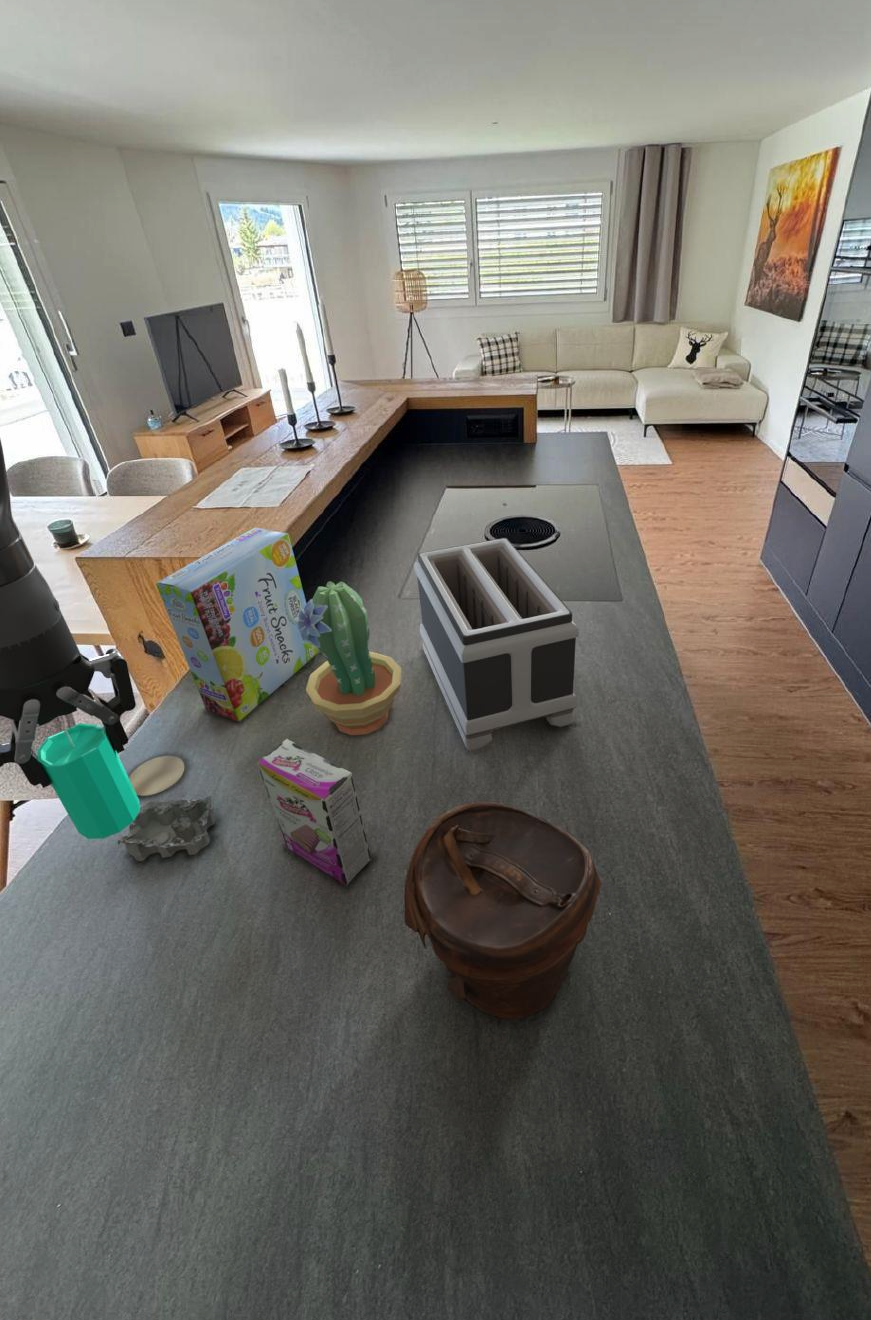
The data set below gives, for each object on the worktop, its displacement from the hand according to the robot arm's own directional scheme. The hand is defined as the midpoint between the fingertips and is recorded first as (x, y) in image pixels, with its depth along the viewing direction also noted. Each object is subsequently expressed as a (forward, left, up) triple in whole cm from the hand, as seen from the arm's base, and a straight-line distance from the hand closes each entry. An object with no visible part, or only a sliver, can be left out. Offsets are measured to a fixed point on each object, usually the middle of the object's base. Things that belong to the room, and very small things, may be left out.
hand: (82, 764), depth 61 cm
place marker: (-12, +22, -25) cm, 35 cm away
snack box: (-3, +45, -25) cm, 52 cm away
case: (+41, -5, -25) cm, 49 cm away
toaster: (+38, +45, -25) cm, 64 cm away
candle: (0, 0, -8) cm, 8 cm away
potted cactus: (+17, +35, -25) cm, 46 cm away
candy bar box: (+18, +8, -25) cm, 32 cm away
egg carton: (-4, +11, -25) cm, 28 cm away
